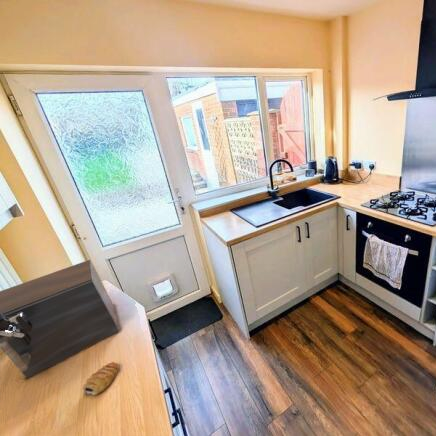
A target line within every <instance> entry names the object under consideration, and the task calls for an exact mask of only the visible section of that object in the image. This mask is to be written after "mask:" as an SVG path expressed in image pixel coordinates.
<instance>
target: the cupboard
mask: <svg viewBox="0 0 436 436" xmlns="http://www.w3.org/2000/svg"><path fill="white" fill-rule="evenodd" d="M91 280H92V281H93V282H94V284H95V286H96V288H97V290H98V292H99V293H100V295H101V297H102V299H103V301H104V303H105V304H106V306H107V308H108V310H109V312H110V314H111V315H112V317H113V319H114V321H115V323H116V325H117V326H118V328H119V329H120V327H119V322H118V317H117V312H116V307H115V304H114V303H113V301H112V299H111V296H110V295H109V293H108V291H107V289H106V287H105V286H104V283H103V281H102V280H101V278H100V276H99V274H98V272H97V270H96V268H95V266H94V264H93V262H92V261H91V259H87V260H85V261H81V262H78V263H76V264H74V265H70V266H68V267H65V268H62V269H59V270H56V271H54V272H53V271H52V272H51V273H48V274H45V275H43V276H39V277H37V278H33V279H31V280H29V281H25V282H22V283H19V284H17V285H14V286H10V287H7V288H6V289H3V290H0V310H1V312H2V313H3V314H7V313H9V312H12V311H14V310H17V309H19V308H22V307H24V306H27V305H30V304H32V303H35V302H37V301H40V300H42V299H45V298H47V297H50V296H53V295H55V294H58V293H60V292H63V291H65V290H68V289H70V288H73V287H76V286H78V285H81V284H83V283H86V282H88V281H91Z"/></svg>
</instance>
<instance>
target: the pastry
mask: <svg viewBox="0 0 436 436" xmlns="http://www.w3.org/2000/svg"><path fill="white" fill-rule="evenodd" d="M119 369H120V365H119V364H118V363H117V362H115V361H112V362H109V363H107V364H106V365H103V366H102V367H101V368H98V370H97V371H96V372H93V373H92V374H91V376H90V377H88V378H87V379H86V381H85V384H83V386H82V391H83V392H86V393H87V395H89V394H90V395H91V394H92V396H97V395H98V394H101V393H102V392H104V391H105V390H106V389H107V387H108V386H109V385H110V384H111V383H112V382H113V380H114V378H115V377H116V375H117V374H118V372H119Z"/></svg>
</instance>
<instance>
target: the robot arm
mask: <svg viewBox="0 0 436 436" xmlns="http://www.w3.org/2000/svg"><path fill="white" fill-rule="evenodd" d="M11 322H15V323H19V324H20V325H21V326H22V328H18V327H17V326H13V325H10V323H11ZM8 330H10V331H8ZM31 330H32V323H31V322H30V321H29V320H28V318H27V317H26V316H25V315H24V313H23V312H19V313H18V314H17V315H16V316H14V317H11V318H7V317H5V316H4V314H3V313H2V312H1V310H0V338H2V337H3V336H9V337H12V336H15V337H19V339H20V340H21V342H22V343H23V344H24V345H25V347H27V346H29V345H30V343H31V337H30V336H29V335H28V332H30V331H31Z"/></svg>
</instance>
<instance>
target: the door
mask: <svg viewBox="0 0 436 436" xmlns="http://www.w3.org/2000/svg"><path fill="white" fill-rule="evenodd" d="M19 312H23V313H24V315H25V316H26V317H27V318H28V320H29V321H30V322H31V323H32V330H31V331H30V332H28V335H29V336H30V337H31V343H30V345H29V346H27V347H25V345H24V344H23V343H22V342H21V340H20V339H19V337H15V336H12V337H9V336H3V337H2V338H0V349H1V350H2V351H3V353H4V354H5V355H6V356H7V357H8V359H10V361H11V362H12V363H13V364H14V365H15V366H16V367H17V369H18V370H19V371H20V372H21V373H22V375H23V376H24V377H25V378H26V379H29V378H31V377H33V376H35V375H37V374H38V373H41V372H42V371H44V370H46V369H48V368H50V367H52V366H54V365H57V364H58V363H60V362H62V361H64V360H66V359H68V358H70V357H72V356H73V355H76V354H78V353H80V352H82V351H84V350H85V349H87V348H89V347H91V346H94V345H95V344H97V343H99V342H101V341H103V340H105V339H107V338H109V337H111V336H112V335H115V334H117V333H119V332H120V327H119V328H118V326H119V325H118V326H117V325H116V323H115V321H114V319H113V317H112V315H111V314H110V312H109V310H108V308H107V306H106V304H105V303H104V301H103V299H102V297H101V295H100V293H99V292H98V290H97V288H96V286H95V284H94V282H93V281H92V280H91V281H88V282H86V283H83V284H81V285H78V286H76V287H73V288H70V289H68V290H65V291H63V292H60V293H58V294H55V295H53V296H50V297H47V298H45V299H42V300H40V301H37V302H35V303H32V304H30V305H27V306H24V307H22V308H19V309H17V310H14V311H12V312H9V313H7V314H4V316H5V317H7V318H11V317H14V316H16V315H17V314H18V313H19ZM10 325H13V326H17V327H18V328H22V326H21V325H20V324H19V323H15V322H11V323H10ZM8 331H10V330H8Z"/></svg>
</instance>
